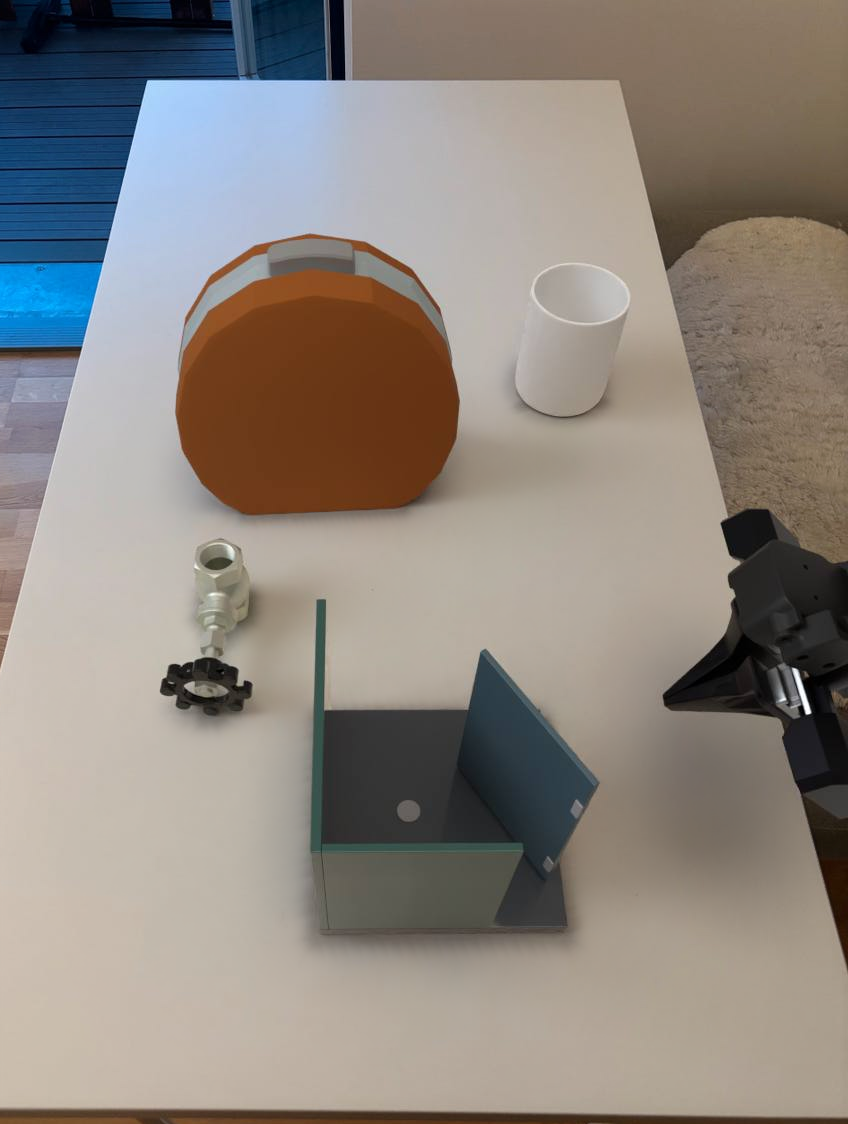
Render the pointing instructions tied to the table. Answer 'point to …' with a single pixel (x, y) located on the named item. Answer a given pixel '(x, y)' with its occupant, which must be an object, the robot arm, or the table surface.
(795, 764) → the robot arm
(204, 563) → the valve
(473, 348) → the table surface
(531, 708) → the shower door
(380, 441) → the alarm clock
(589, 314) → the mug
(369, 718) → the shower stall
